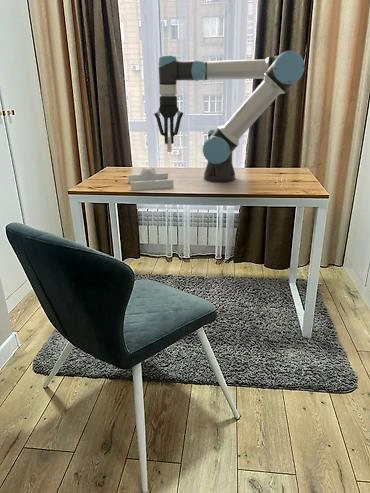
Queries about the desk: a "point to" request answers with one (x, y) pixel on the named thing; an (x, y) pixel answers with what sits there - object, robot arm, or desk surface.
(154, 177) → the die
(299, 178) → the desk surface
